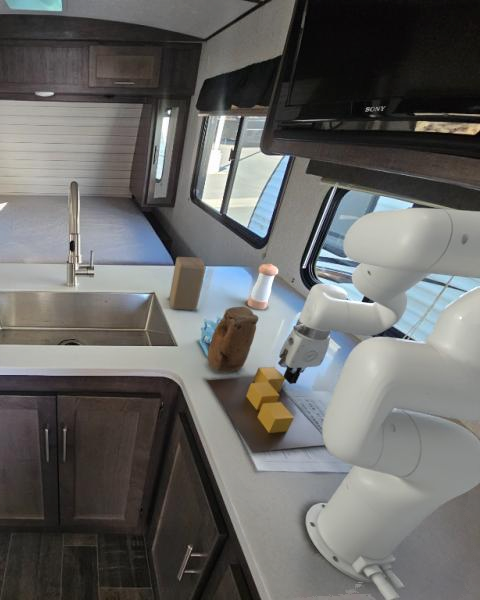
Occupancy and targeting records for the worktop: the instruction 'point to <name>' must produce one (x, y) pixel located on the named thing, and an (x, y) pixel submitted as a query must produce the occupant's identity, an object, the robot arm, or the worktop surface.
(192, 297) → the wooden block
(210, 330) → the light blue crumpled piece
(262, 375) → the ochre block
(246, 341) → the brown rounded lump
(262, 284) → the pepper shaker
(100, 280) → the worktop surface
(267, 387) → the ochre block
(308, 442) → the mat
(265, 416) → the ochre block
